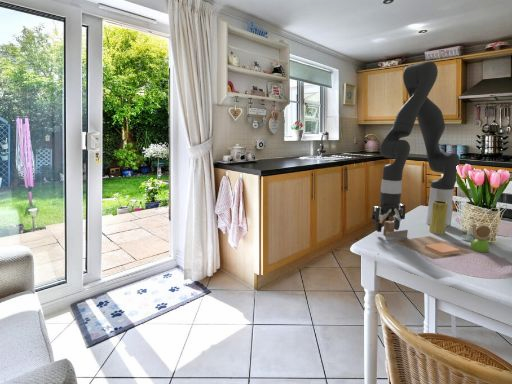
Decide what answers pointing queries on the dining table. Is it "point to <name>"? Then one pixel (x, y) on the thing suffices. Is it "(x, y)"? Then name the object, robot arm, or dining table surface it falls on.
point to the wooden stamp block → (391, 233)
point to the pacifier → (468, 235)
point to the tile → (442, 249)
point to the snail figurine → (480, 238)
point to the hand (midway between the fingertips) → (387, 230)
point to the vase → (438, 217)
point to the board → (420, 243)
